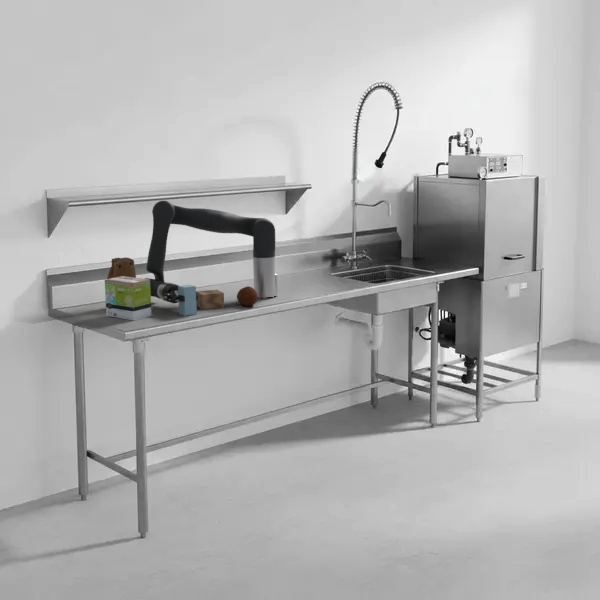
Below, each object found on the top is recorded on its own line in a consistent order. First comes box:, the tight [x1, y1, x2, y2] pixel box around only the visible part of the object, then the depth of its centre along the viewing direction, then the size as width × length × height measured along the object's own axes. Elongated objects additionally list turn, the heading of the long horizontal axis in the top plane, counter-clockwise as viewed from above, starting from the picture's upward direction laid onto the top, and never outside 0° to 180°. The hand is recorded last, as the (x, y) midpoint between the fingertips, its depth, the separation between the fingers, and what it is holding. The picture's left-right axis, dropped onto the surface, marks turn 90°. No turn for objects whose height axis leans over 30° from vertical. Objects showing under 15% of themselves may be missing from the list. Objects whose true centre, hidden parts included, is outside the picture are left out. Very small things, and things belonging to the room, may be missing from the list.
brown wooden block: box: [196, 289, 225, 310], centre depth 359 cm, size 9×9×6 cm
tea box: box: [104, 276, 152, 321], centre depth 339 cm, size 15×10×15 cm, turn 56°
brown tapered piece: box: [106, 257, 137, 279], centre depth 357 cm, size 11×8×20 cm
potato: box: [236, 285, 258, 307], centre depth 359 cm, size 8×12×8 cm, turn 34°
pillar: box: [178, 284, 198, 317], centre depth 342 cm, size 5×5×11 cm
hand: (190, 298), depth 340 cm, fingers closed on pillar, 5 cm apart
